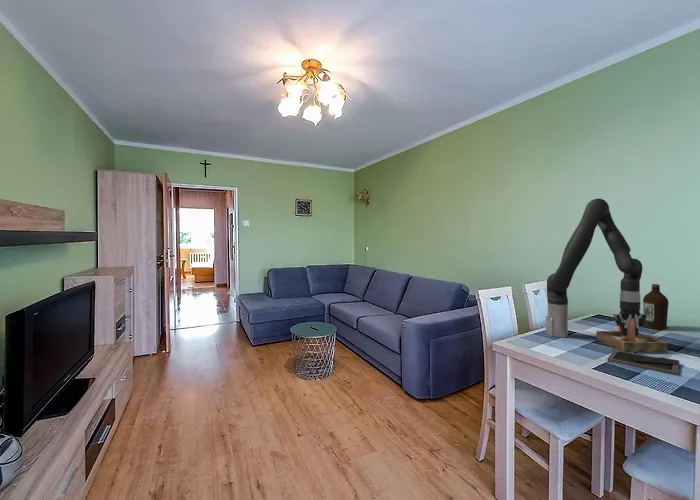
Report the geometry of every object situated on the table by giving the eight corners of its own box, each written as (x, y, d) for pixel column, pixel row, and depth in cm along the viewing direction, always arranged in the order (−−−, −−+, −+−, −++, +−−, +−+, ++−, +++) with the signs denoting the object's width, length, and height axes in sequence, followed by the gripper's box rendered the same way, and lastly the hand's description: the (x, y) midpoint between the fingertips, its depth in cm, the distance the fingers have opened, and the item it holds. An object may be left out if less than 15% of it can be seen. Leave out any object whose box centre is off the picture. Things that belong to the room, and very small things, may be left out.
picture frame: (679, 365, 133) (614, 352, 148) (679, 360, 133) (614, 348, 148) (677, 377, 122) (607, 362, 138) (677, 371, 122) (607, 357, 137)
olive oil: (656, 325, 189) (656, 283, 188) (673, 330, 179) (674, 285, 178) (637, 325, 190) (638, 283, 189) (653, 330, 179) (654, 285, 178)
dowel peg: (628, 341, 154) (628, 318, 153) (622, 338, 158) (622, 316, 157) (637, 341, 153) (637, 318, 153) (630, 338, 157) (630, 316, 157)
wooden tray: (623, 352, 147) (623, 342, 147) (596, 339, 165) (596, 331, 165) (666, 352, 145) (667, 343, 145) (634, 340, 164) (634, 331, 164)
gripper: (620, 301, 152) (620, 337, 152) (652, 301, 150) (652, 337, 151) (608, 298, 159) (608, 333, 160) (639, 298, 158) (639, 333, 159)
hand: (629, 335), depth 155 cm, fingers closed on dowel peg, 4 cm apart
